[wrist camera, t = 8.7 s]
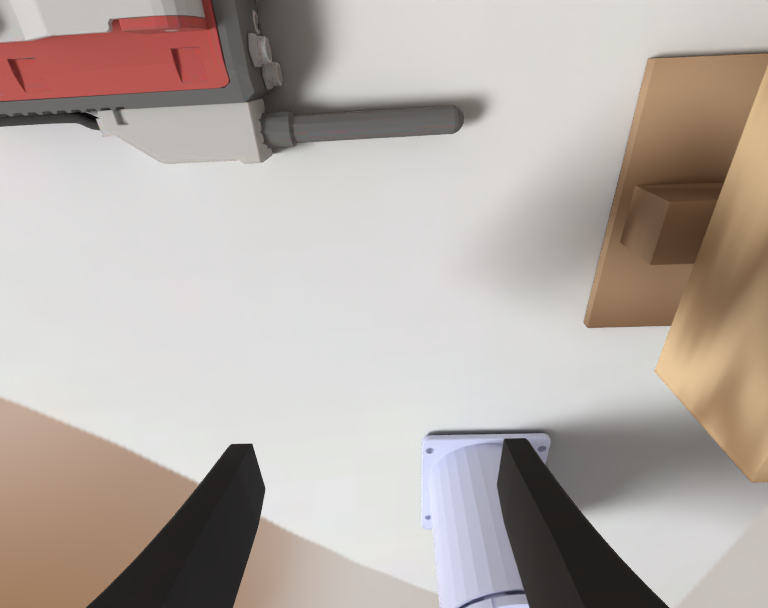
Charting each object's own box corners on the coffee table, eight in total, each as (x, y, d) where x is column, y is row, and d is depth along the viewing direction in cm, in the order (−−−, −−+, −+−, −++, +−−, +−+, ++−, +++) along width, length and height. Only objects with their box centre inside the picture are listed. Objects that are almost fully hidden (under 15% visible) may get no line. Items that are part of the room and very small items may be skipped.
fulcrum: (738, 318, 21) (786, 353, 19) (583, 322, 22) (610, 357, 19) (864, 48, 15) (960, 44, 13) (648, 58, 16) (699, 56, 13)
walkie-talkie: (9, 168, 18) (457, 143, 18) (-90, 194, 14) (476, 163, 14) (-123, -98, 14) (467, -145, 13) (-317, -161, 10) (500, -231, 9)
